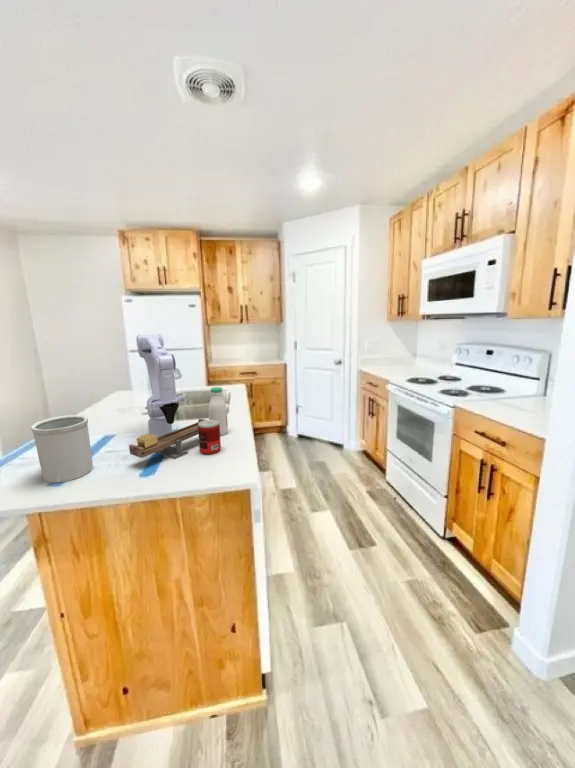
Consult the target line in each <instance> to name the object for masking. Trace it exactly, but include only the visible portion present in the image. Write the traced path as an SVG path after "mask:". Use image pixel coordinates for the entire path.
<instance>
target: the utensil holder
mask: <svg viewBox="0 0 575 768" xmlns="http://www.w3.org/2000/svg"><path fill="white" fill-rule="evenodd" d="M88 423H89V417H88V416H85V415H81V414H68V415H60V416H54V417H49V418H46V419H42V420H39V421H37V422H35V423H33V424H32V425H31V427H30V428H31V432H32V433H33V434H32V435H33V438H34V443H35V447H36V452H37V457H38V461H39V466H40V470H41V474H42V479H43V480H44V481H45V482H47V483H53V484H55V483H57V484H58V483H64V482H69V481H74V480H76V478H77V479H80V478H81V476H82V477H84V476H86V475H87V474H89V473H90V472H91V471H92V470H93V468H94V465H93V454H92V448H91V447H92V446H91V441H90V433H89V425H88ZM73 479H74V480H73Z"/></svg>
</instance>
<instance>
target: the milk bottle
mask: <svg viewBox="0 0 575 768" xmlns="http://www.w3.org/2000/svg"><path fill="white" fill-rule="evenodd" d="M222 393H223V388H222V387H221V386H214V387H211V388H210V394H211V397H210V400H209V403H208V407H207V408H208V411H207V413H208V420H217V421H219V425H220V436H224V435H227V434H228V432H229V429H228V428H229V427H228V411H227V409H228V408H227V404H226V402H225V399H224V397H223V394H222Z"/></svg>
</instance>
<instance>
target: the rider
mask: <svg viewBox="0 0 575 768" xmlns="http://www.w3.org/2000/svg"><path fill="white" fill-rule="evenodd" d="M136 444H137V445H138V446H139V447H142V448H144V450H146V449H148V448H151V447H153V446H156V445H158V441H157V435H154V434H150V433H149V432H148V433H147V434H144V435H141V436H139V437H136ZM137 445H136V446H137Z"/></svg>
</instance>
